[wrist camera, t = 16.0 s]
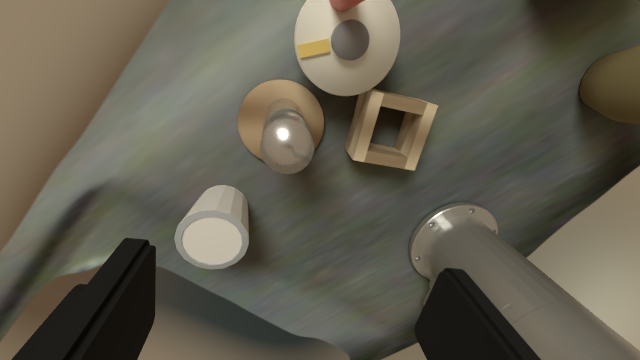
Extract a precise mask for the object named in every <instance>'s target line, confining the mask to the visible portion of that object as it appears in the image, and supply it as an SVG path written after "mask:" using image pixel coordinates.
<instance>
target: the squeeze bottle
mask: <svg viewBox="0 0 640 360" xmlns="http://www.w3.org/2000/svg"><path fill="white" fill-rule="evenodd" d="M580 98H581V99H582V101H583V102H584V104H586V105H587V106H589V107H590V108H592V109H593V110H595V111H597V112H598V113H600V114H601V115H603V116H605V117H606V118H608V119H611V120H613V121H616V122H623V123H632V124H640V45H639V46H636V47H632V48H629V49H626V50H622V51H619V52H616V53H612V54H609V55H606V56H604V57H602V58H600V59H598V60H597V61H596V62H595V63H594V64H593V65H592V66H590V67H589V69H588V70H587V72H586V73H585V75H584V77H583V78H582V82H581V85H580Z"/></svg>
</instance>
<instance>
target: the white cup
mask: <svg viewBox="0 0 640 360" xmlns="http://www.w3.org/2000/svg"><path fill="white" fill-rule="evenodd" d="M174 239H175V243H176V248H177V250H178V251H179V253H180V254H181V255H182V257H183V258H184V259H185V260H187V261H188V262H190V263H192V264H193V265H195V266H197V267H201V268H206V269H222V268H226V267H228V266H231V265H233V264H235V263H237V262H238V261H239V260H240V259H241V258H242V257H243V256H244V255H245V253H246V250H247V248H248V245H249V227H248V202H247V200H246V198H245V196H244V195H243V194H242V193H241V192H240V191H239V190H237V189H236V188H233V187H230V186H227V185H219V186H214V187H212V188H209V189H207V190H206V191H205V192H204V193H203V194H202V195H201V196H200V198H199V199H198V200H197V202H196V203H195V204H194V206H193V207H192V208H191V209H190V211H189V212H188V213H187V215H186V216H185V217H184V219H183V220H182V221H181V223H180V224H179V225H178V227H177V230H176V234H175V237H174Z"/></svg>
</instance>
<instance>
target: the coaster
mask: <svg viewBox="0 0 640 360" xmlns="http://www.w3.org/2000/svg"><path fill="white" fill-rule="evenodd" d="M281 98H286V99H290V100H292V101H294V102H295V103H296V104H297V105H298V106H299V107H300V109H301V111H302V114H303V116H304V119H305V121H306V124H307V126H308V129H309V131H310V134H311V136H312V139H313V142H314V150H315V148H316V147H317V145H318V144H319V142H320V140H321V138H322V134H323V130H324V116H323V112H322V109H321V106H320V104H319V102H318V100H317V99H316V98H315V96H314V95H313V94H312V93H311V92H310V91H309V90H308V89H307V88H305V87H304V86H302V85H301V84H298V83H296V82H293V81H290V80H284V79H276V80H270V81H267V82H264V83H262V84H260V85H258V86H256V87H255V88H254V89H253V90H251V91H250V93H249V94H248V95H247V96H246V98H245V99H244V101H243V103H242V105H241V107H240V110H239V115H238V128H239V133H240V136H241V138H242V140H243V142H244V144H245V145H246V147H247V148H248V149H249V150H250V152H251V153H253V154H254V155H255V156H256V157H258V158H259V159H261V160H263V159H262V156H261V153H260V144H261V138H262V132H263V127H264V121H265V116H266V111H267V108H268V107H269V105H270V104H271V103H272V102H273V101H275V100H277V99H281Z"/></svg>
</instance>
